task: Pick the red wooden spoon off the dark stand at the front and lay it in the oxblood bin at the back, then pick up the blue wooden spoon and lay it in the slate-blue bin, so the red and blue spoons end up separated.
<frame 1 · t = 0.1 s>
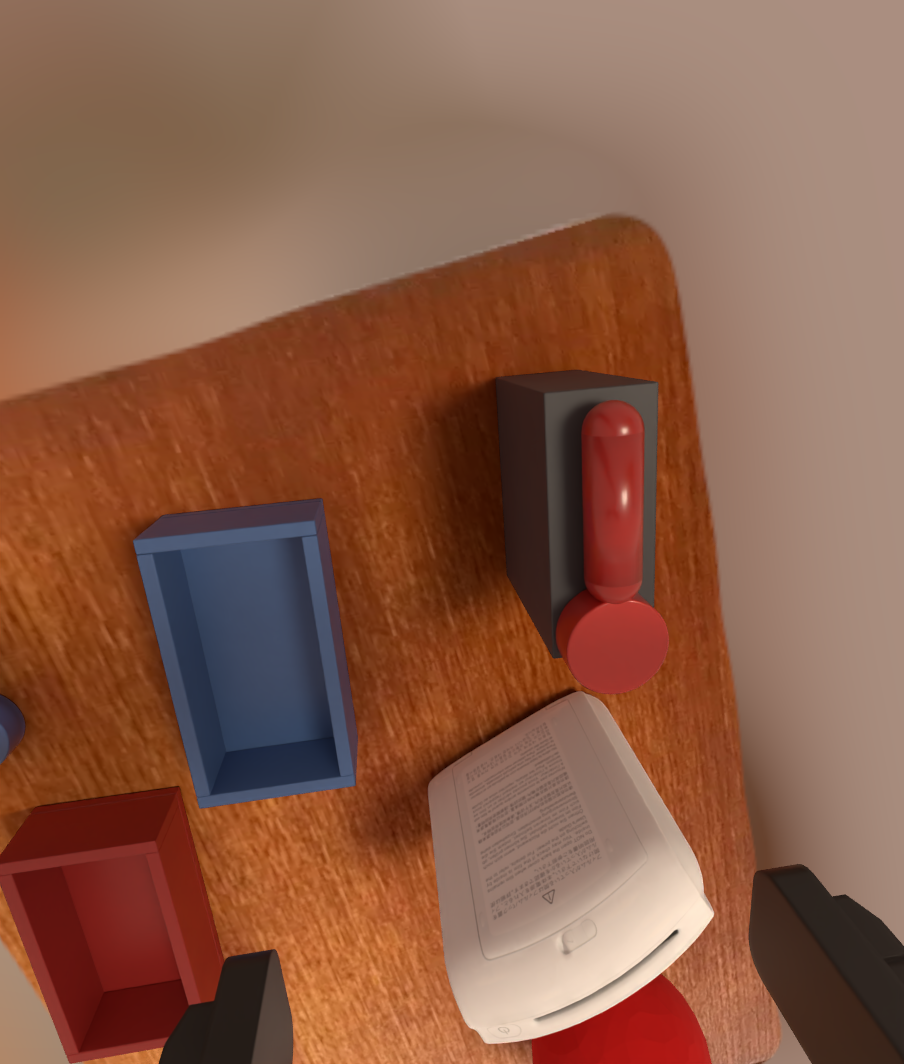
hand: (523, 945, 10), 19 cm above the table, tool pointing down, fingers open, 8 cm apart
photo printer: (517, 753, 32), on the table
red spoon: (602, 499, 20), point 8 cm above the table, touching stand
blue bin: (267, 634, 29), on the table
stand: (540, 477, 28), on the table
red bin: (137, 894, 32), on the table
fruit: (591, 975, 38), on the table
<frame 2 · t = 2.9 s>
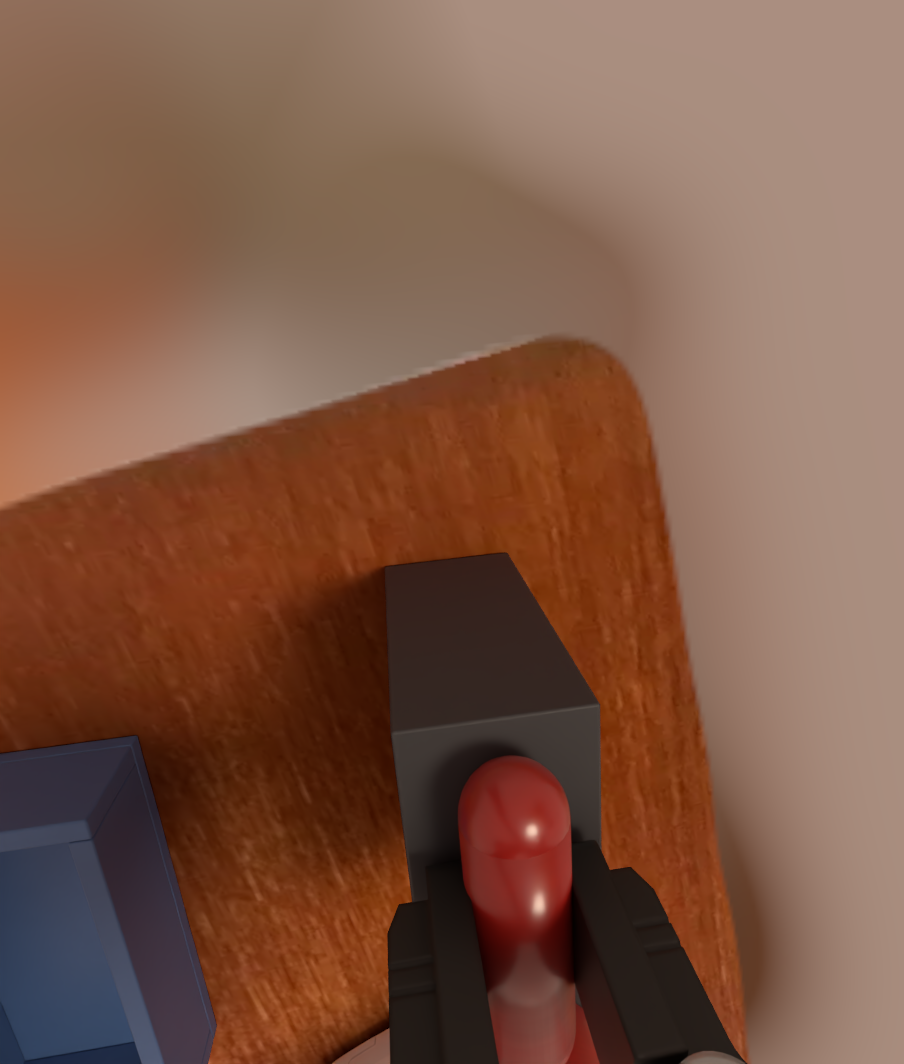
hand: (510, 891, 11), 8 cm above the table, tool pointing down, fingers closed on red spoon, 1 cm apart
photo printer: (442, 1027, 24), on the table
red spoon: (509, 880, 12), point 8 cm above the table, touching gripper, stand
blue bin: (74, 909, 20), on the table
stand: (458, 694, 19), on the table
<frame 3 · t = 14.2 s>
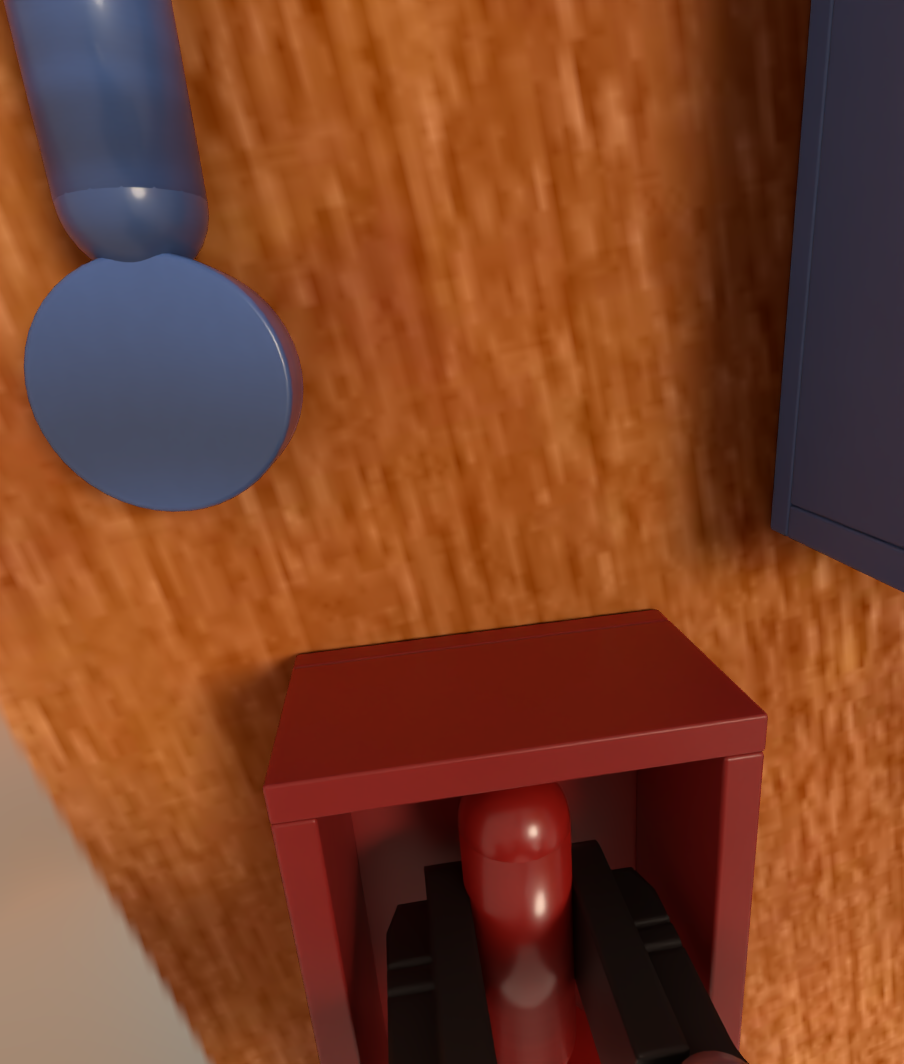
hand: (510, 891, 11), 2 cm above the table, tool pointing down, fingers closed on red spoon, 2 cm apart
red spoon: (509, 882, 12), point 1 cm above the table, touching gripper
red bin: (500, 889, 13), on the table
blue spoon: (118, 23, 8), on the table
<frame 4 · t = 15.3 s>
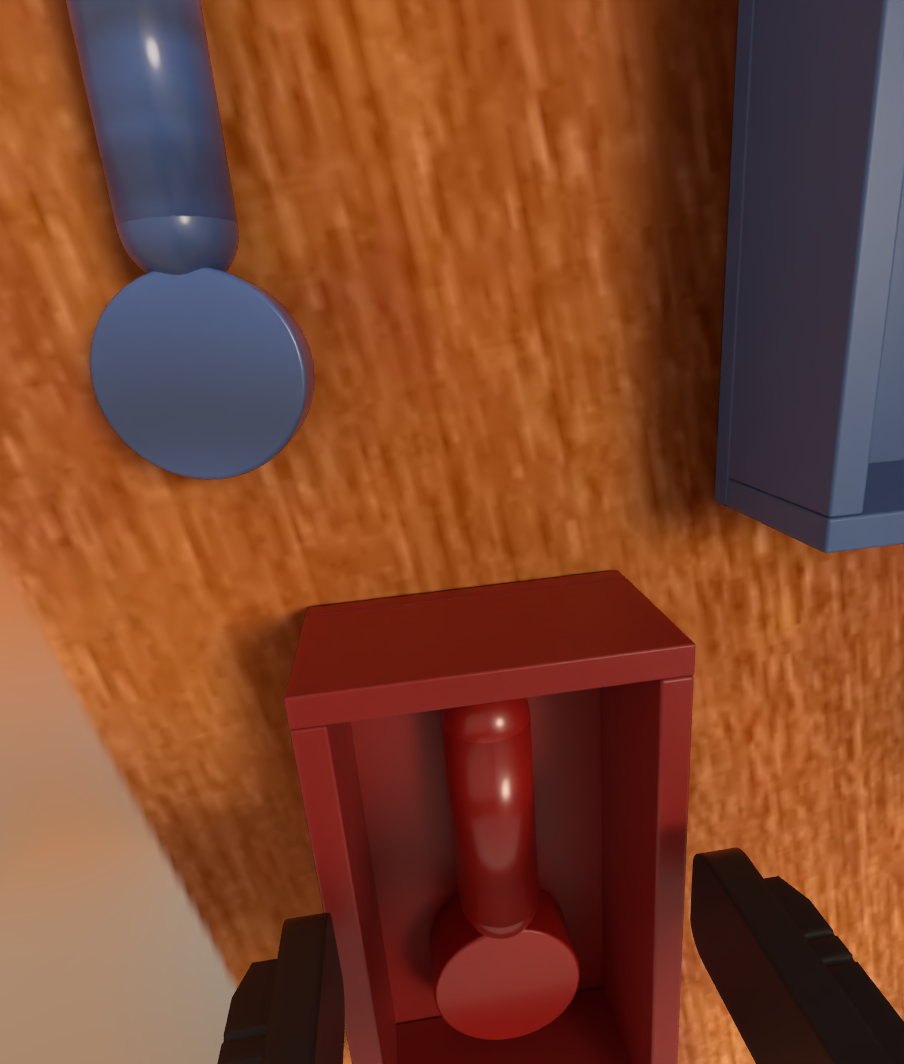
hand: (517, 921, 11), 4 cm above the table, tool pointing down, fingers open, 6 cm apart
red spoon: (485, 779, 14), resting on red bin
blue bin: (897, 170, 12), on the table
red bin: (484, 819, 15), on the table
blue spoon: (165, 80, 10), on the table
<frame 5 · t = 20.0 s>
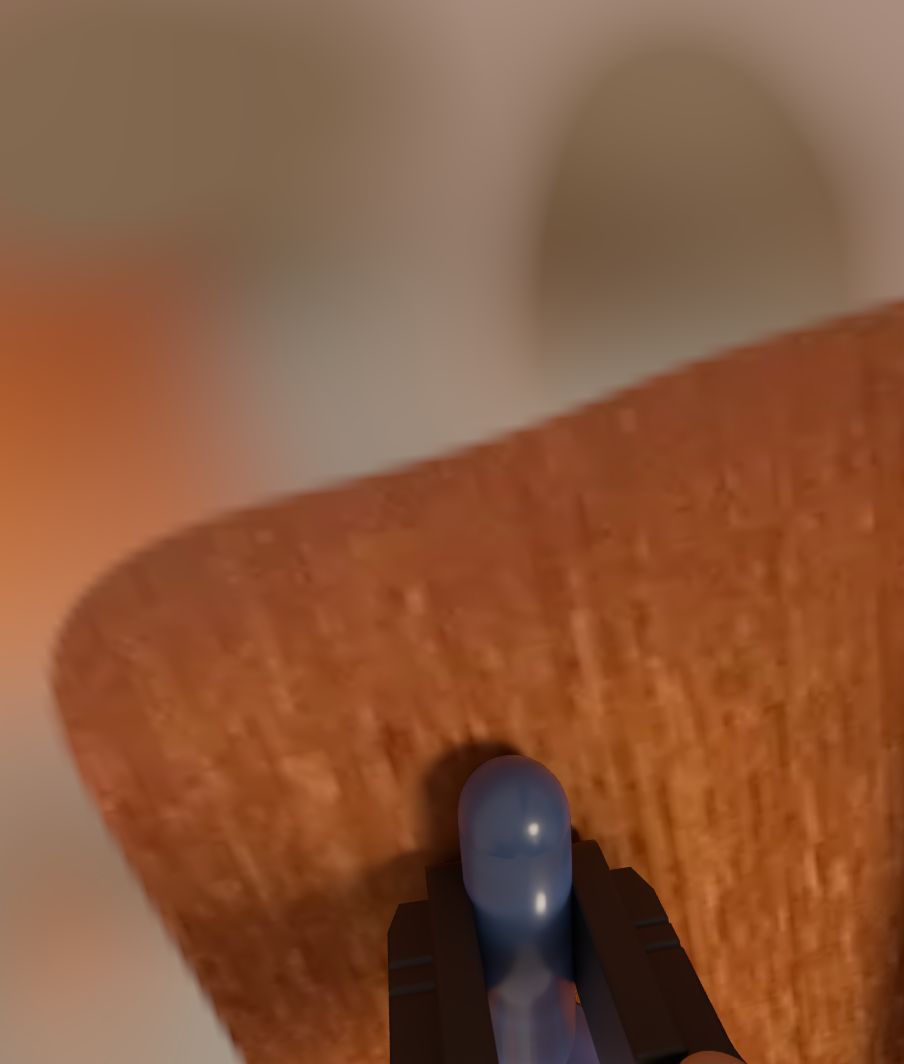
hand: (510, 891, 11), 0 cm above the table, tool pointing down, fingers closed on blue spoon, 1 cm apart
blue spoon: (509, 880, 12), on the table, touching gripper
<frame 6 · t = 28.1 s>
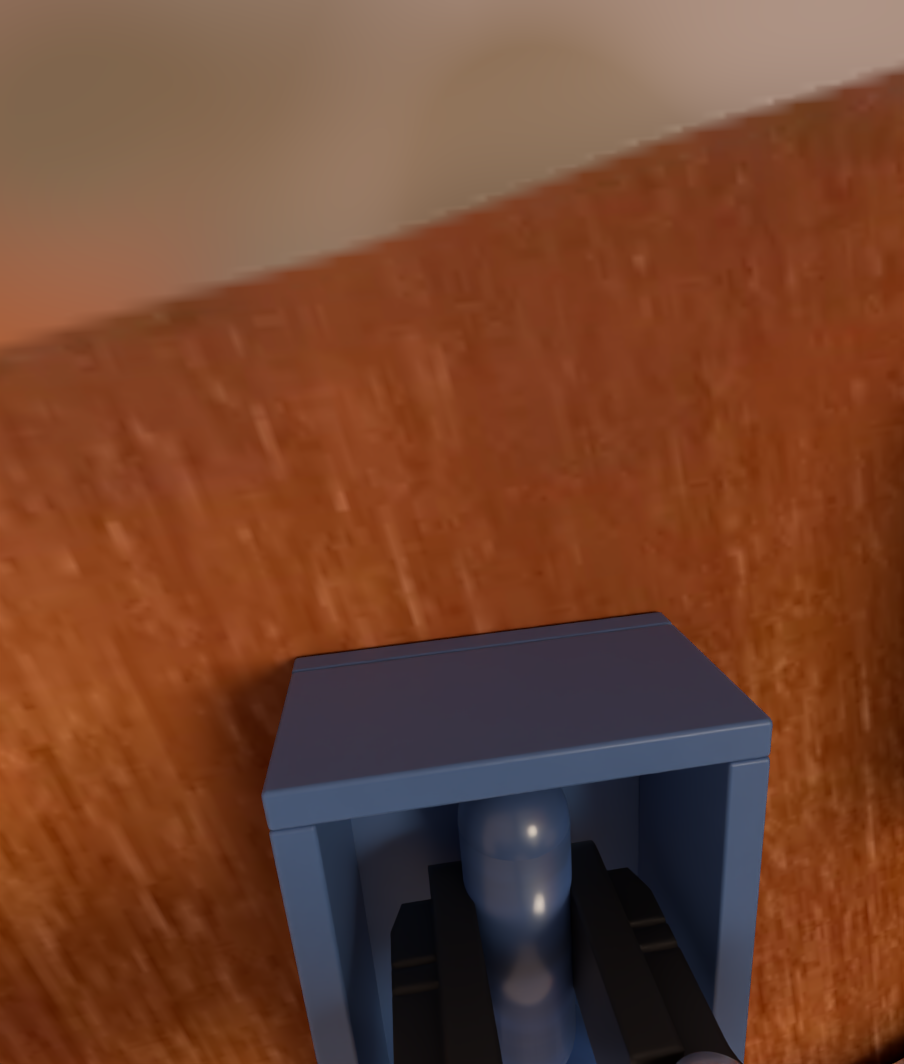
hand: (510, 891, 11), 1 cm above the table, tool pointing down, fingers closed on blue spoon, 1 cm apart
blue bin: (501, 894, 13), on the table
blue spoon: (509, 881, 12), point 1 cm above the table, touching gripper
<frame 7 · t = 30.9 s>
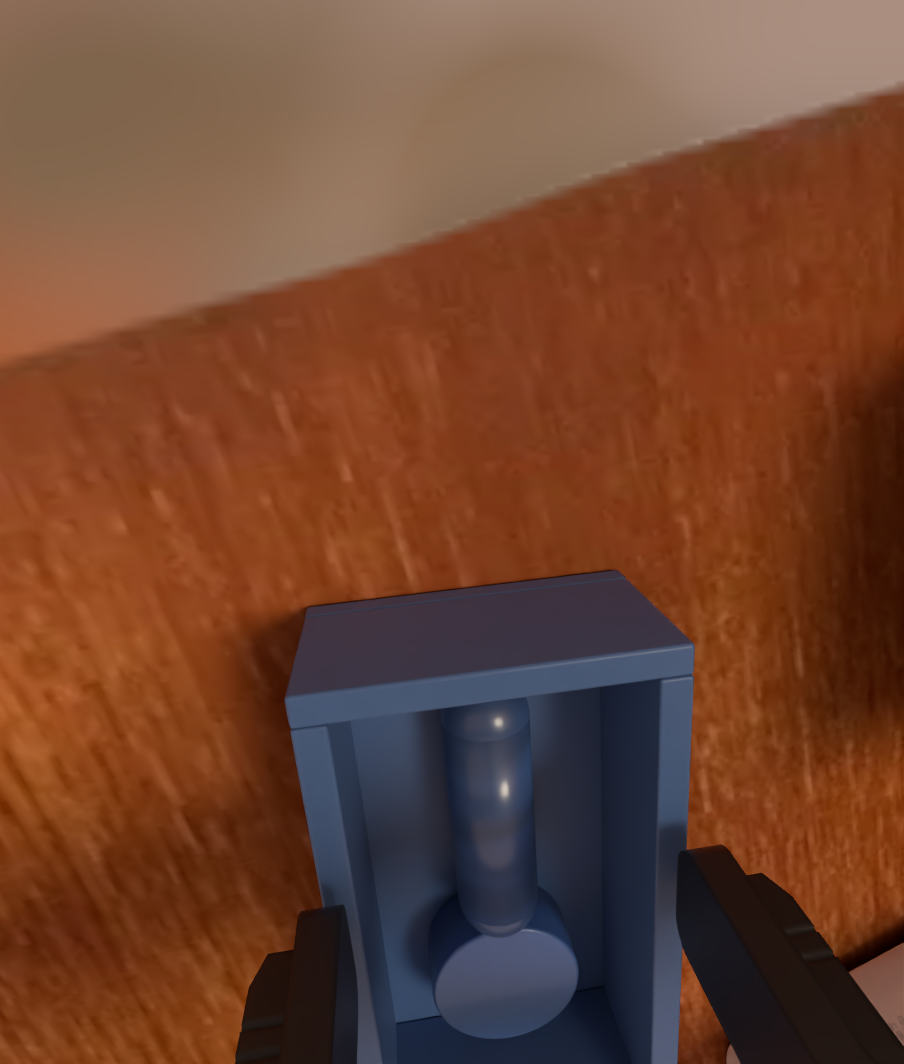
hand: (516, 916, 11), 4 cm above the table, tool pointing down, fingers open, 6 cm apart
photo printer: (868, 986, 19), on the table
blue bin: (484, 819, 15), on the table
blue spoon: (484, 778, 14), resting on blue bin
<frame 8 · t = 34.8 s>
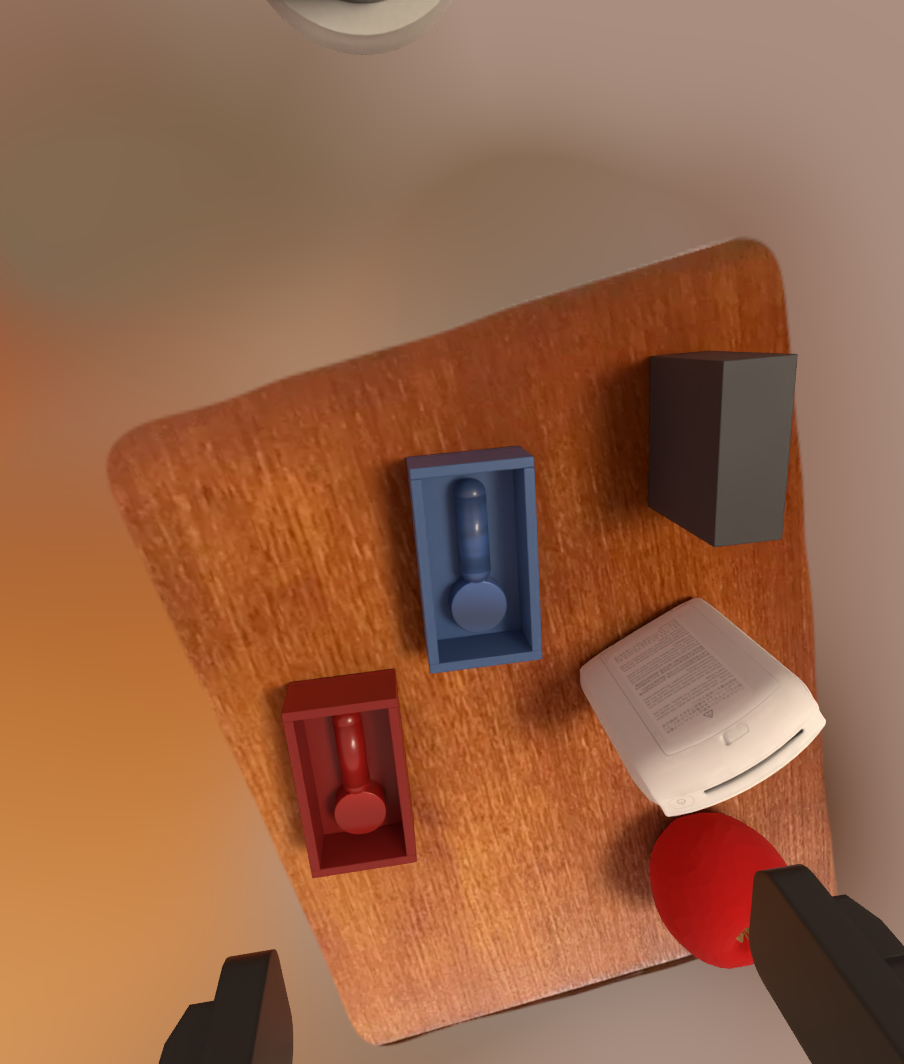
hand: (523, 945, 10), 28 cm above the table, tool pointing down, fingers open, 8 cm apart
photo printer: (645, 649, 42), on the table
red spoon: (352, 740, 41), resting on red bin
blue bin: (470, 549, 38), on the table
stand: (677, 431, 37), on the table
red bin: (354, 756, 41), on the table
blue spoon: (470, 527, 37), resting on blue bin
fruit: (689, 837, 47), on the table
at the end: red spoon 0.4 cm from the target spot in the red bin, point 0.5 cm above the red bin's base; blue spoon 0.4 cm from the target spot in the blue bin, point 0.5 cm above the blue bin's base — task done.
